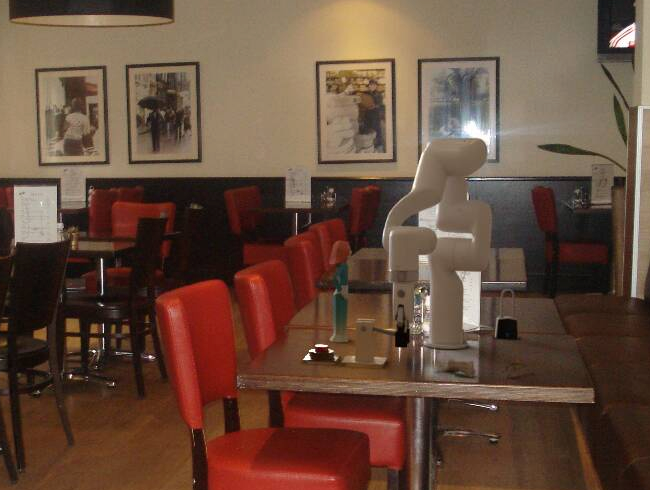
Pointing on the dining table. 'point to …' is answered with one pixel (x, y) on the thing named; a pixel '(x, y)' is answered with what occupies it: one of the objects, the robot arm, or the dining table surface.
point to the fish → (517, 368)
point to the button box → (321, 356)
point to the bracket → (364, 345)
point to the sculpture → (340, 290)
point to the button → (321, 348)
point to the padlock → (507, 322)
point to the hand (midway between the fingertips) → (402, 344)
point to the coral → (457, 367)
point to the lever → (383, 331)
